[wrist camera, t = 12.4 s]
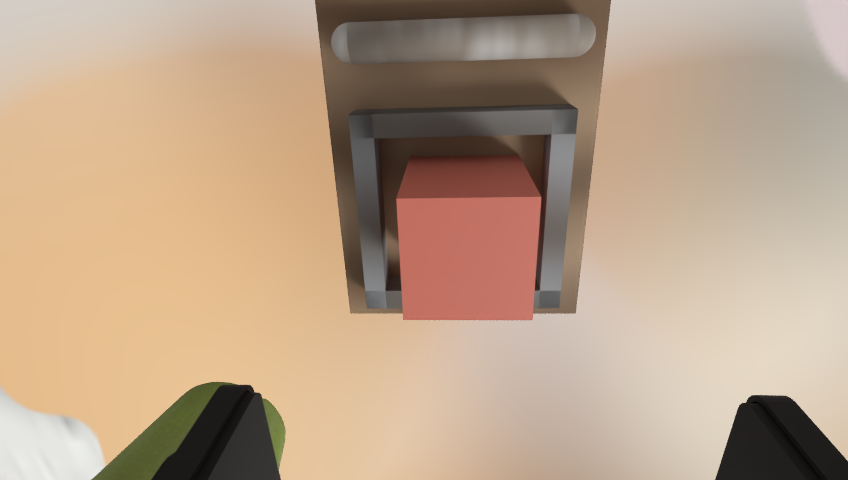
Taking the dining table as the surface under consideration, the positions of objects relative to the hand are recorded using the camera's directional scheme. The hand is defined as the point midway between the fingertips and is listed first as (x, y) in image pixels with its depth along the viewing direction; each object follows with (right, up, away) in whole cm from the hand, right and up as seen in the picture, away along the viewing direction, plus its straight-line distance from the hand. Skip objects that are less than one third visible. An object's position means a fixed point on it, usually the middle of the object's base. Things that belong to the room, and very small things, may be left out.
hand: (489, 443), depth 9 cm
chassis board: (0, +8, +13) cm, 16 cm away
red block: (+1, +6, +13) cm, 15 cm away
